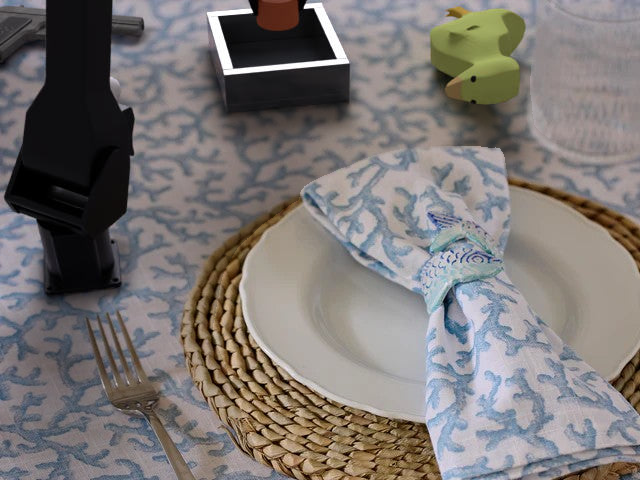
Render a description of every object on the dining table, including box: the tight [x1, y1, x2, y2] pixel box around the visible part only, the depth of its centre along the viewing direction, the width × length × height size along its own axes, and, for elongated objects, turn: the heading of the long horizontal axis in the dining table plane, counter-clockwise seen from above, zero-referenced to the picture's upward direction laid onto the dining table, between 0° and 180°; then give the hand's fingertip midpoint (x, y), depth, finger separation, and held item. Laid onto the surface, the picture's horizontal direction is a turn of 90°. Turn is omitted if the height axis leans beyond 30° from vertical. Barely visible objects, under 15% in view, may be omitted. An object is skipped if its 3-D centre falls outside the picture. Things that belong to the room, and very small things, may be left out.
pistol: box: [0, 4, 145, 64], centre depth 119 cm, size 2×18×12 cm
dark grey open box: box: [205, 2, 351, 114], centre depth 114 cm, size 15×14×4 cm
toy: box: [429, 6, 527, 105], centre depth 114 cm, size 6×17×20 cm
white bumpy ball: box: [110, 76, 122, 102], centre depth 110 cm, size 3×3×3 cm
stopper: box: [257, 0, 299, 31], centre depth 105 cm, size 4×4×3 cm
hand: (277, 12), depth 106 cm, fingers closed on stopper, 4 cm apart
